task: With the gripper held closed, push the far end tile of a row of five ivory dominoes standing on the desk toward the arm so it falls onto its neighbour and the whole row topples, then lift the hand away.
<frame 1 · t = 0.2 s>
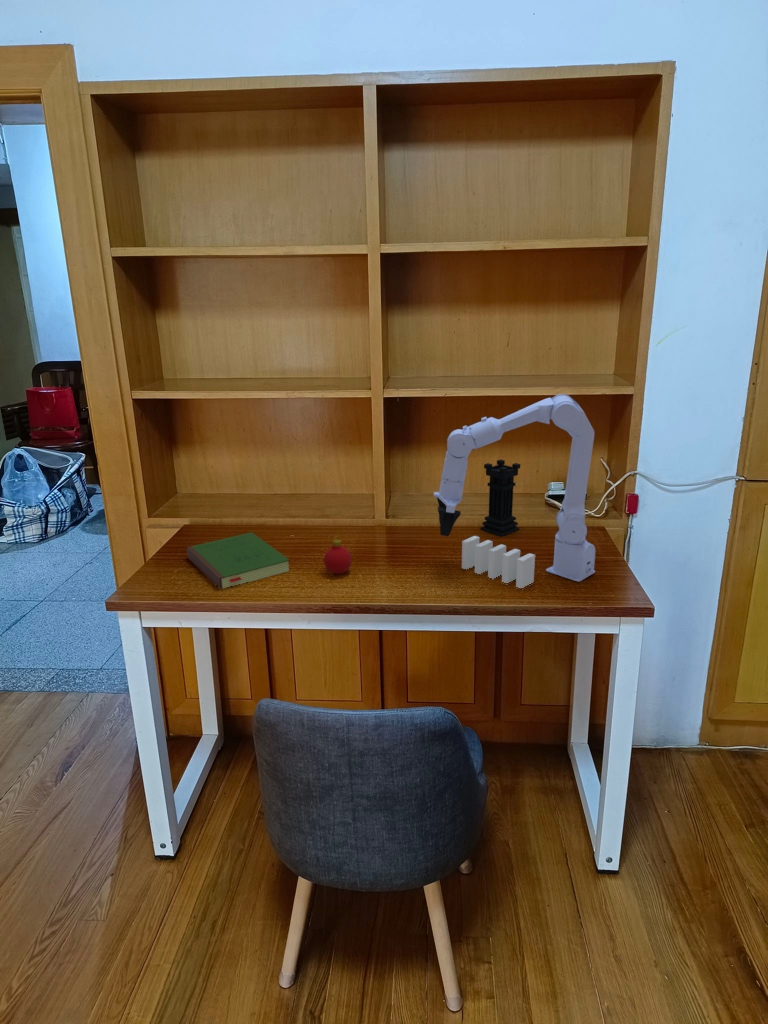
hand: (443, 529, 172), 11 cm above the table, tool pointing down, fingers open, 7 cm apart
domino 5: (524, 585, 165), on the table
domino 1: (470, 566, 176), on the table
hardcover book: (238, 567, 180), on the table
domino 4: (510, 580, 168), on the table
domino 3: (496, 575, 171), on the table
christmas ornament: (338, 573, 174), on the table
domino 2: (483, 570, 173), on the table
chess piece: (499, 530, 200), on the table
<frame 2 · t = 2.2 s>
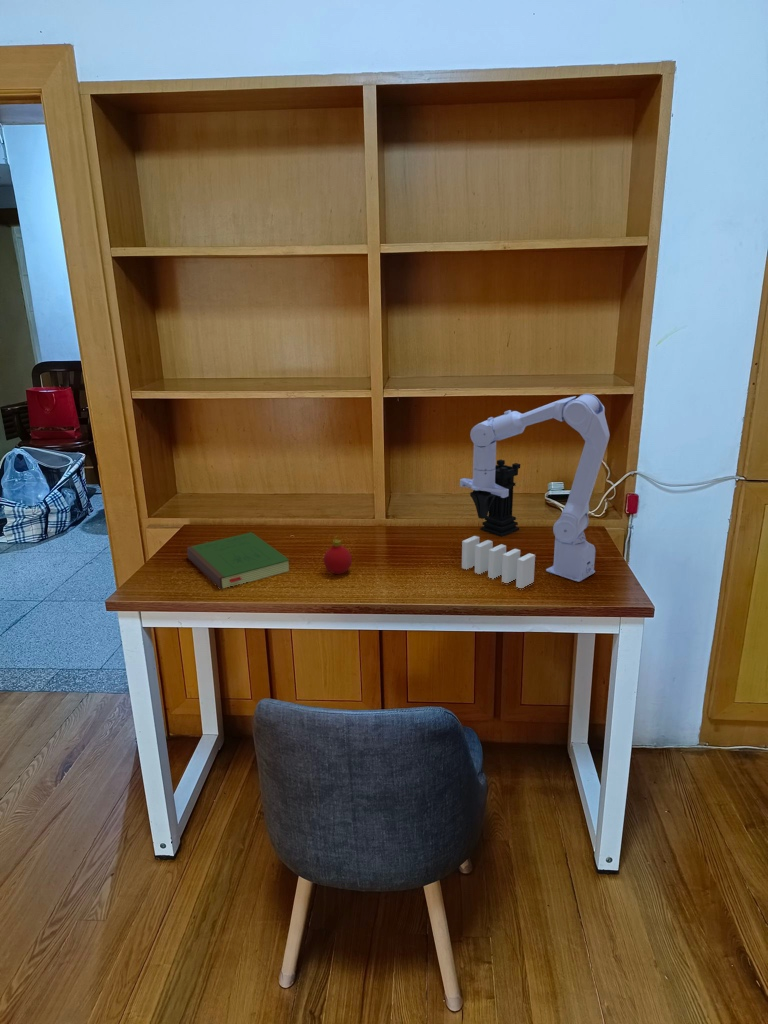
hand: (482, 517, 180), 10 cm above the table, tool pointing down, fingers closed
nothing on the table moved.
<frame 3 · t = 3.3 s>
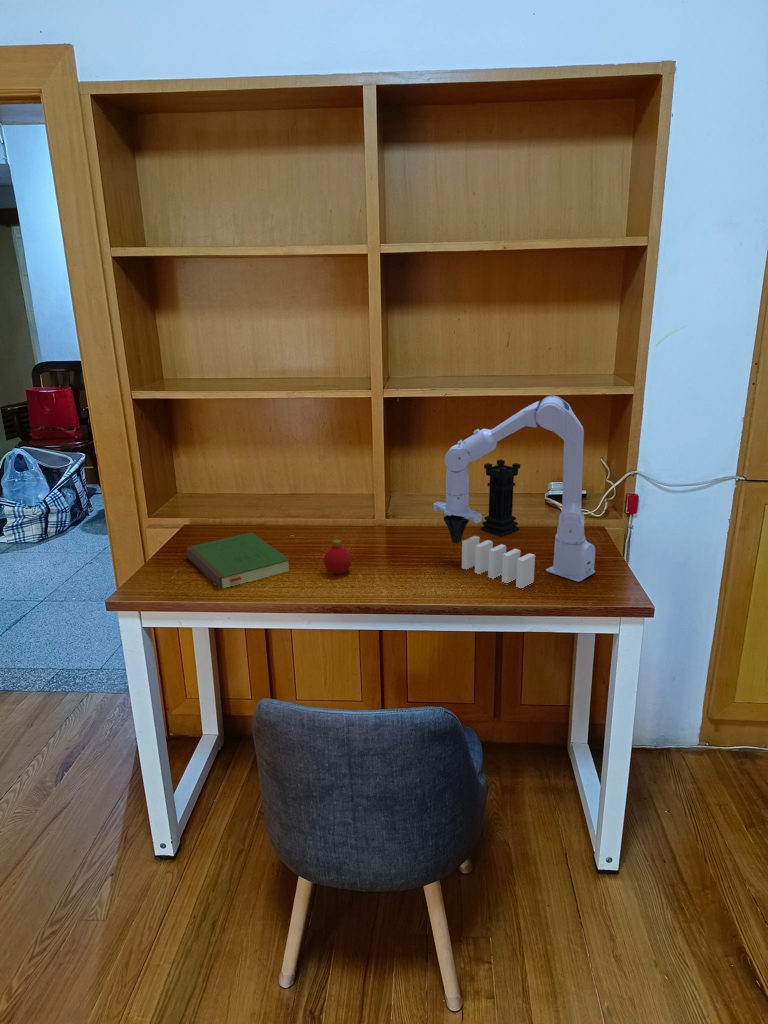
hand: (456, 541, 178), 5 cm above the table, tool pointing down, fingers closed
nothing on the table moved.
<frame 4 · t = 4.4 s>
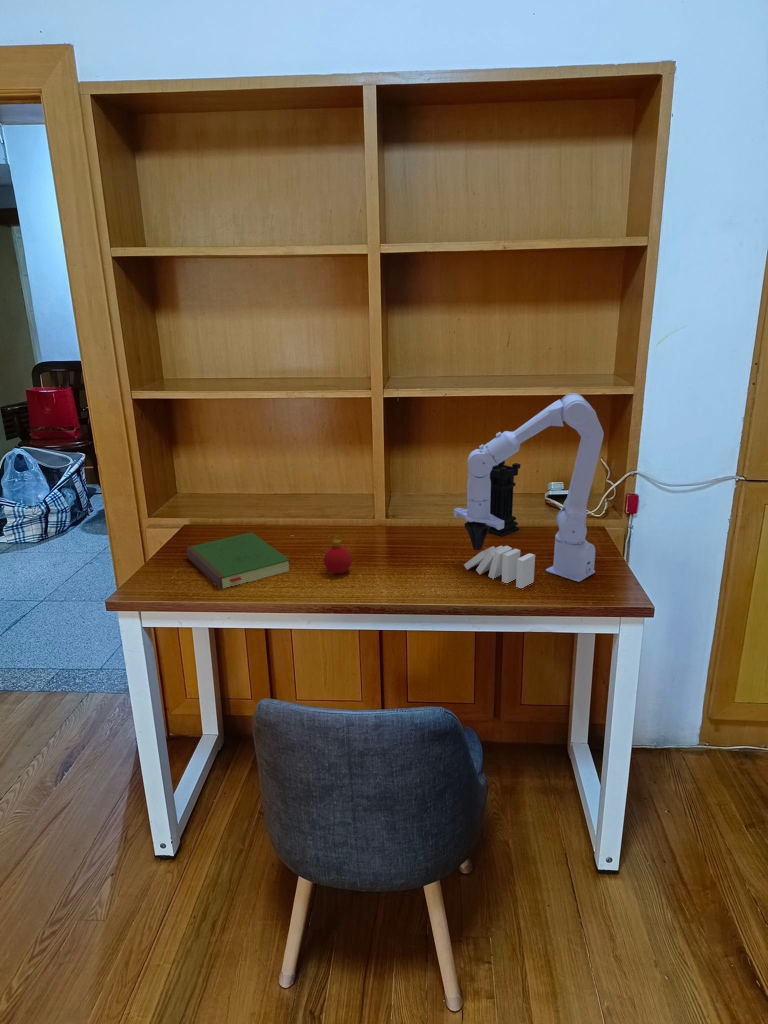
hand: (477, 548, 173), 5 cm above the table, tool pointing down, fingers closed
domino 1: (471, 564, 176), point 1 cm above the table, tilted 47°
domino 3: (496, 574, 170), on the table, tilted 13°
domino 2: (483, 569, 173), on the table, tilted 32°
everything else where it was.
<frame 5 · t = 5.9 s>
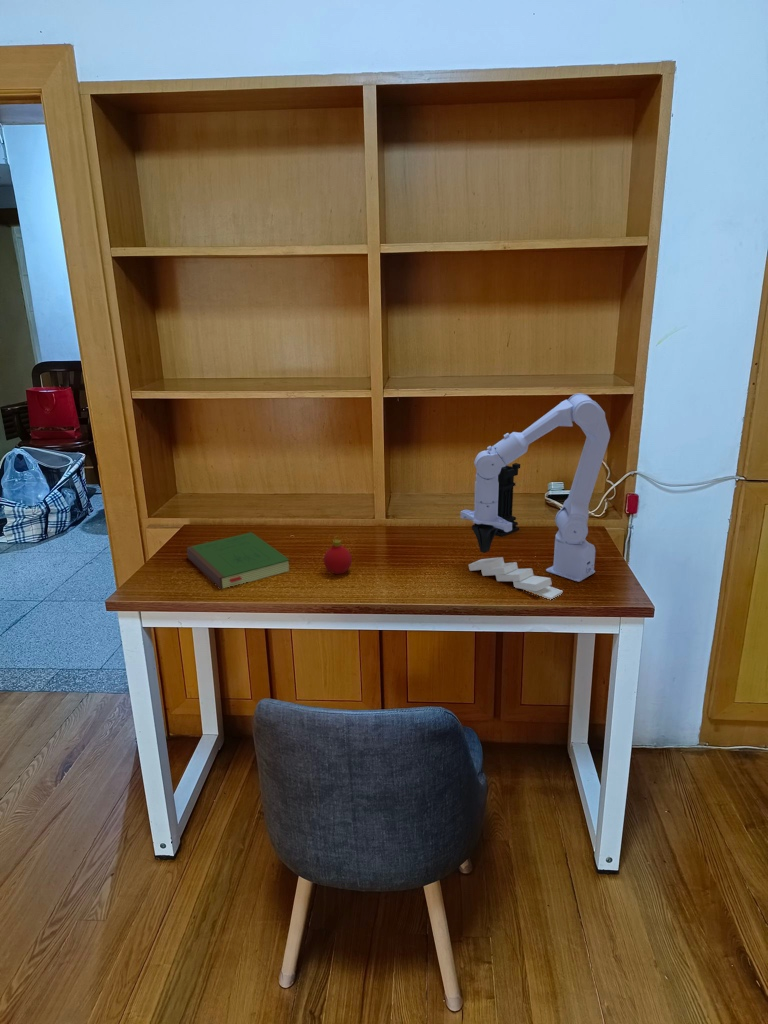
hand: (484, 551, 171), 5 cm above the table, tool pointing down, fingers closed
domino 5: (529, 587, 164), on the table, tilted 90°
domino 1: (475, 564, 175), point 1 cm above the table, tilted 68°, touching domino 2
domino 4: (521, 581, 165), point 1 cm above the table, tilted 75°, touching domino 3
domino 3: (502, 575, 169), point 1 cm above the table, tilted 71°, touching domino 2, domino 4
domino 2: (488, 570, 172), point 1 cm above the table, tilted 68°, touching domino 1, domino 3
everything else where it was.
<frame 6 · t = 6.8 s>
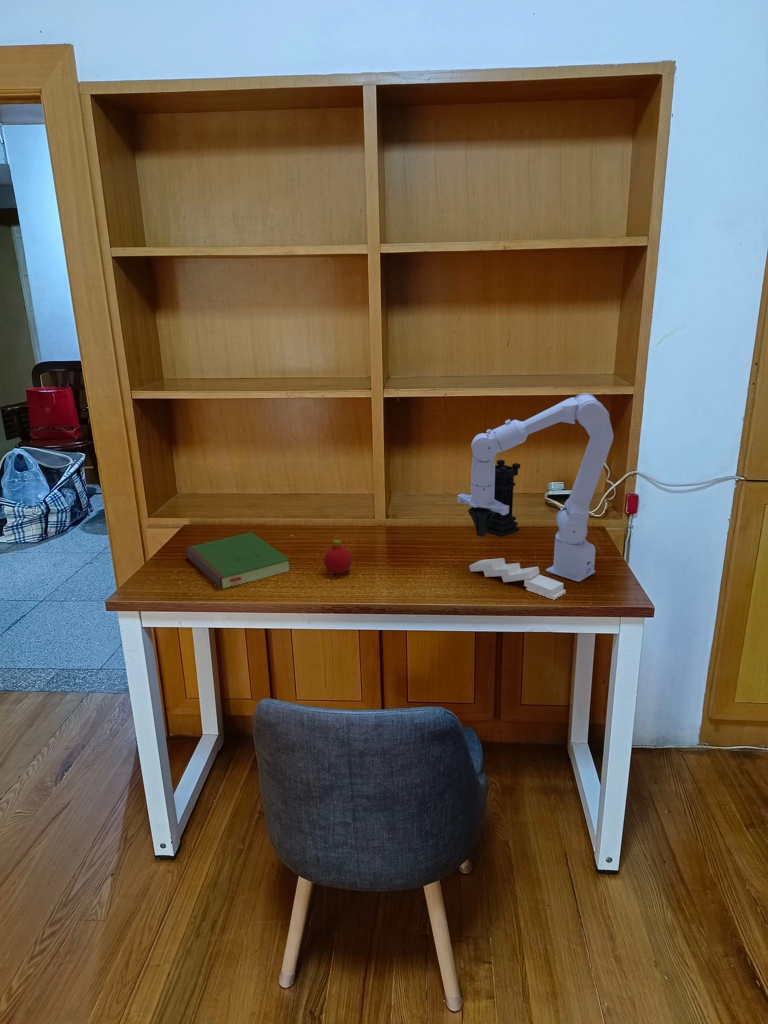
hand: (481, 535, 171), 9 cm above the table, tool pointing down, fingers closed
domino 5: (532, 587, 163), on the table, tilted 90°, touching domino 4
domino 1: (476, 565, 175), point 1 cm above the table, tilted 69°
domino 4: (530, 579, 164), point 2 cm above the table, tilted 90°, touching domino 5
domino 3: (507, 576, 168), point 1 cm above the table, tilted 68°
domino 2: (490, 570, 171), point 1 cm above the table, tilted 70°
everything else where it was.
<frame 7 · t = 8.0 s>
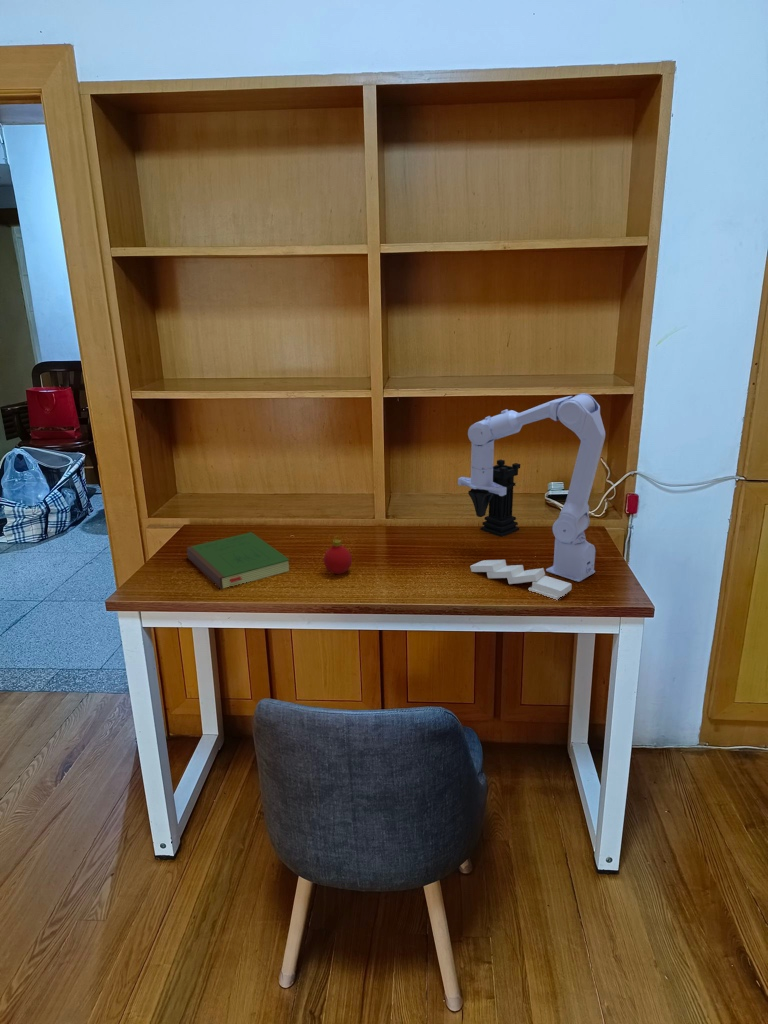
hand: (480, 515, 181), 10 cm above the table, tool pointing down, fingers closed
domino 1: (477, 566, 174), point 1 cm above the table, tilted 72°, touching domino 2
domino 4: (537, 581, 163), point 2 cm above the table, tilted 90°, touching domino 5
domino 3: (512, 577, 167), point 1 cm above the table, tilted 69°, touching domino 2
domino 2: (493, 572, 171), point 1 cm above the table, tilted 71°, touching domino 1, domino 3
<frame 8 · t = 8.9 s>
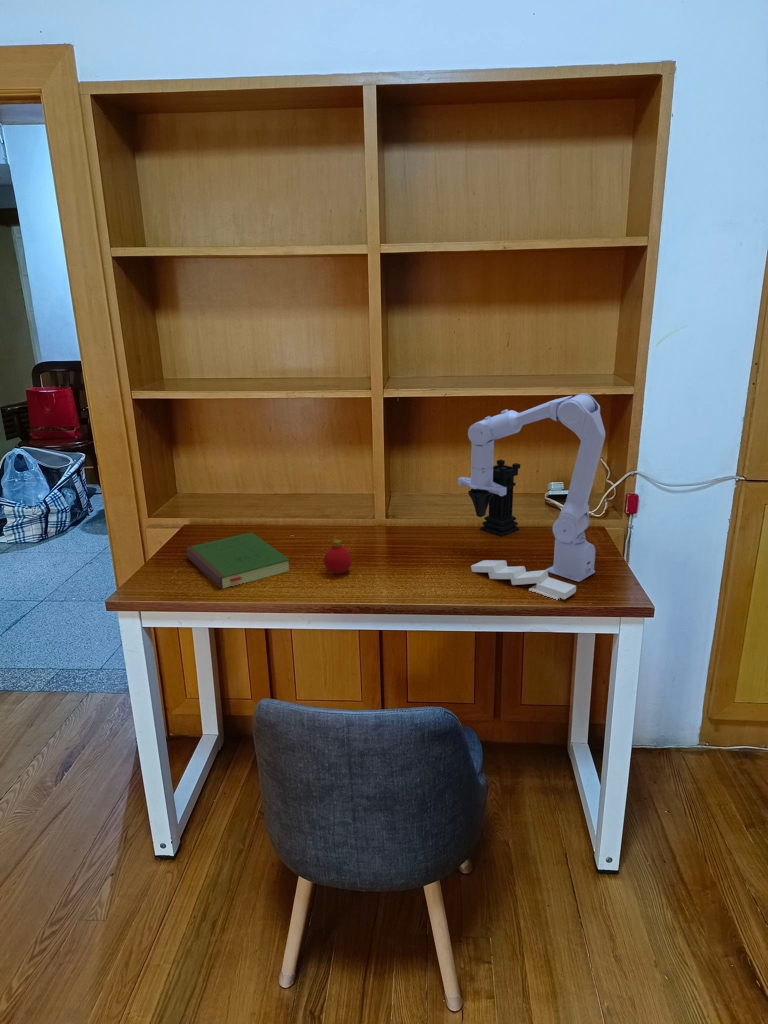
hand: (480, 515, 181), 10 cm above the table, tool pointing down, fingers closed
domino 4: (542, 583, 162), point 1 cm above the table, tilted 90°, touching domino 5
at the end: domino 5 tilted 90°; domino 1 tilted 73° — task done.
